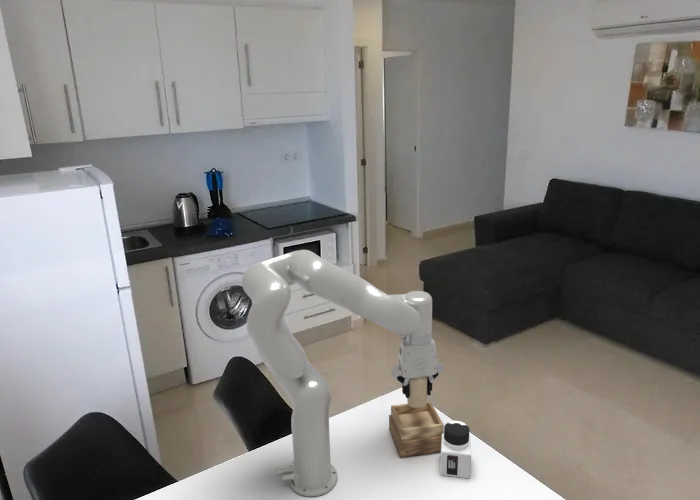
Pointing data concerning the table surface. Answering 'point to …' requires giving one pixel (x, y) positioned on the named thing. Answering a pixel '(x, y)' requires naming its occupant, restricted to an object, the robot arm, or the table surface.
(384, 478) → the table surface
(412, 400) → the candle
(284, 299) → the robot arm
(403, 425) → the top crate
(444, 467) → the container
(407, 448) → the base crate
